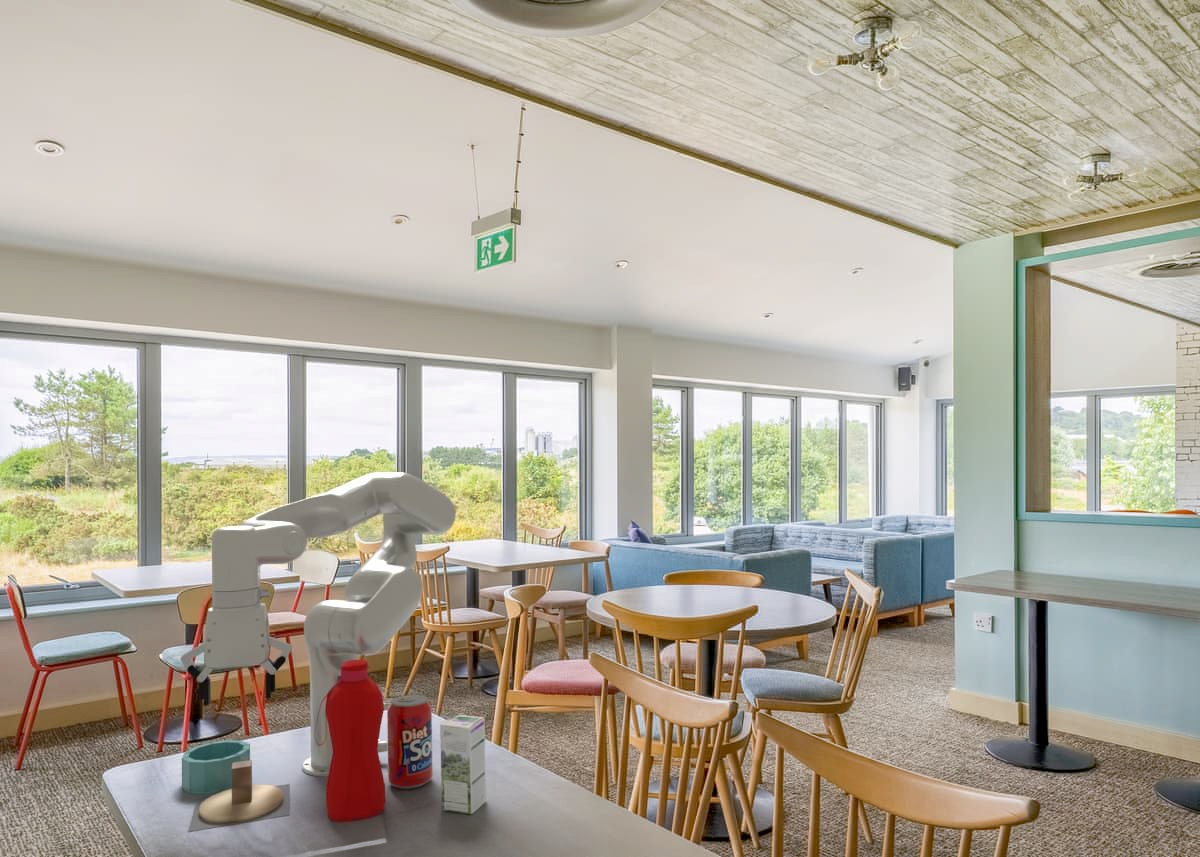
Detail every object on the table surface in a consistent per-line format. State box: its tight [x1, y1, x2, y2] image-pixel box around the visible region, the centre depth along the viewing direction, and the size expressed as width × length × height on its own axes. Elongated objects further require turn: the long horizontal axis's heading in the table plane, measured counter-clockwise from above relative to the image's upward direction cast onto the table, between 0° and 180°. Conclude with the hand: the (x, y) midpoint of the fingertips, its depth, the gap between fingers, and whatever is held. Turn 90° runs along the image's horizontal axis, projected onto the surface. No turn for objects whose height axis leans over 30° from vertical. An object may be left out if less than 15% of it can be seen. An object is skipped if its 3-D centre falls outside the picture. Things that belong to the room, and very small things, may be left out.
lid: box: [199, 759, 283, 823], centre depth 138 cm, size 13×13×7 cm
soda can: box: [386, 694, 434, 790], centre depth 148 cm, size 8×8×15 cm
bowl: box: [181, 740, 251, 795], centre depth 150 cm, size 11×11×6 cm
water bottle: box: [315, 659, 386, 823], centre depth 136 cm, size 9×11×25 cm
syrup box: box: [439, 714, 487, 815], centre depth 138 cm, size 6×6×14 cm
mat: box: [187, 783, 291, 833], centre depth 138 cm, size 15×14×1 cm
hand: (238, 699), depth 139 cm, fingers open, 9 cm apart
